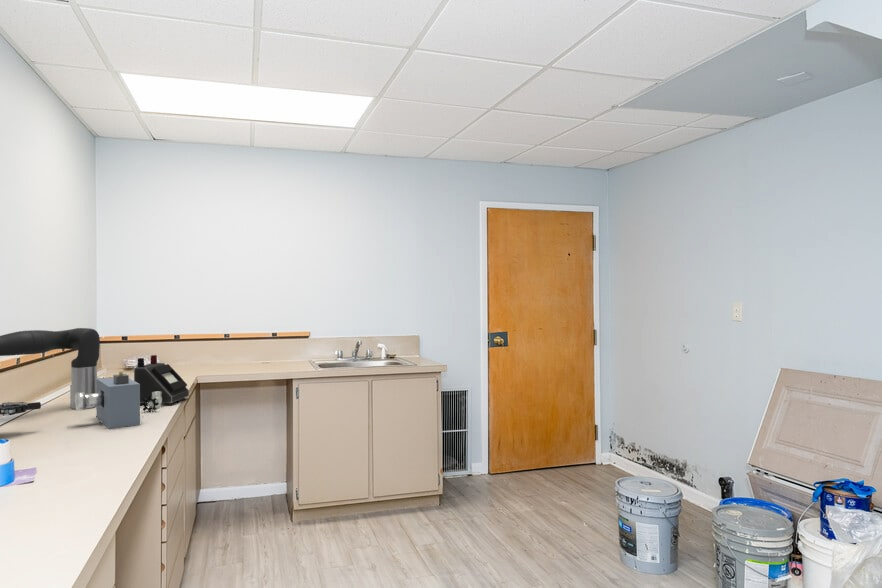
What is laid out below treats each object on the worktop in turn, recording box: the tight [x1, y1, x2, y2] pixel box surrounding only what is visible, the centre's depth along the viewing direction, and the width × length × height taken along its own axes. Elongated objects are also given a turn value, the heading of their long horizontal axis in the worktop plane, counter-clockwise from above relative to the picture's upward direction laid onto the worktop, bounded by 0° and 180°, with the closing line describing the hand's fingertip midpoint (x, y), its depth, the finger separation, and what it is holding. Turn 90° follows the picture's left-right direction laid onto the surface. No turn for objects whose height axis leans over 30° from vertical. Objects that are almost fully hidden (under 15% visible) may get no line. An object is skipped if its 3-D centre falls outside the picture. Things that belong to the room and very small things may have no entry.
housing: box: [95, 377, 141, 430], centre depth 220 cm, size 24×10×15 cm, turn 40°
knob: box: [75, 392, 104, 411], centre depth 214 cm, size 6×9×6 cm
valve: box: [140, 391, 163, 413], centre depth 241 cm, size 7×7×12 cm
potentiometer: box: [113, 369, 130, 385], centre depth 215 cm, size 5×4×5 cm
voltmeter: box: [133, 354, 190, 406], centre depth 256 cm, size 16×16×20 cm
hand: (40, 405), depth 204 cm, fingers closed
